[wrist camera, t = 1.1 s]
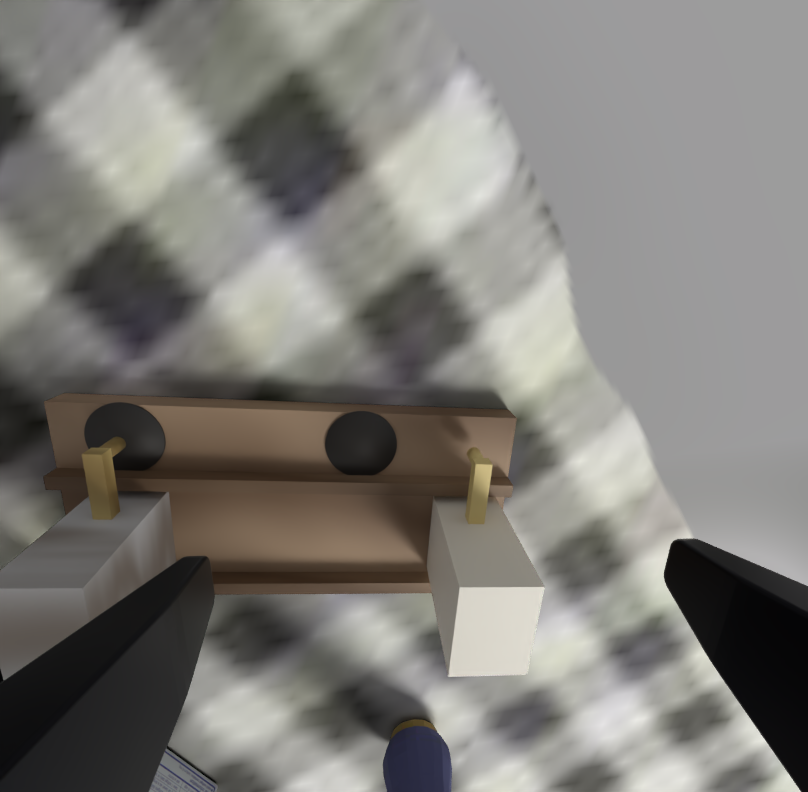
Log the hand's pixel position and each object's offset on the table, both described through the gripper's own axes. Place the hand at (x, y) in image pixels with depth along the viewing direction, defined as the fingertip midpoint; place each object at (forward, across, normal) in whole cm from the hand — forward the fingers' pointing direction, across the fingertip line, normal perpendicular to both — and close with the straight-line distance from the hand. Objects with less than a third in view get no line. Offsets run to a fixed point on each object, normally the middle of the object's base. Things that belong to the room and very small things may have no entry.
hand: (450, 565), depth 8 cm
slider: (+11, -3, +6) cm, 13 cm away
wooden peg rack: (+12, +5, +5) cm, 14 cm away
